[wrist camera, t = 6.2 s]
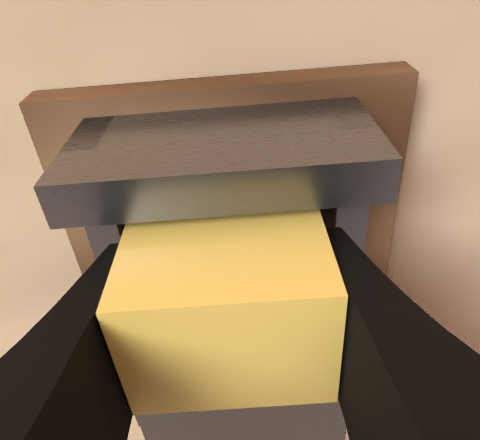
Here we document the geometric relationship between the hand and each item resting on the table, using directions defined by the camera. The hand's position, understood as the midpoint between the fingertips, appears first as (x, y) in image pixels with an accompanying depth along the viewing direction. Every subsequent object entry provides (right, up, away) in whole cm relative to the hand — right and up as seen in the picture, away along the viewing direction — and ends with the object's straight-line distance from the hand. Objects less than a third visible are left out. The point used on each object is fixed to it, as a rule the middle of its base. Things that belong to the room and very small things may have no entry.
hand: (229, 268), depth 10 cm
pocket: (0, +2, +3) cm, 4 cm away
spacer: (0, +1, +1) cm, 2 cm away
